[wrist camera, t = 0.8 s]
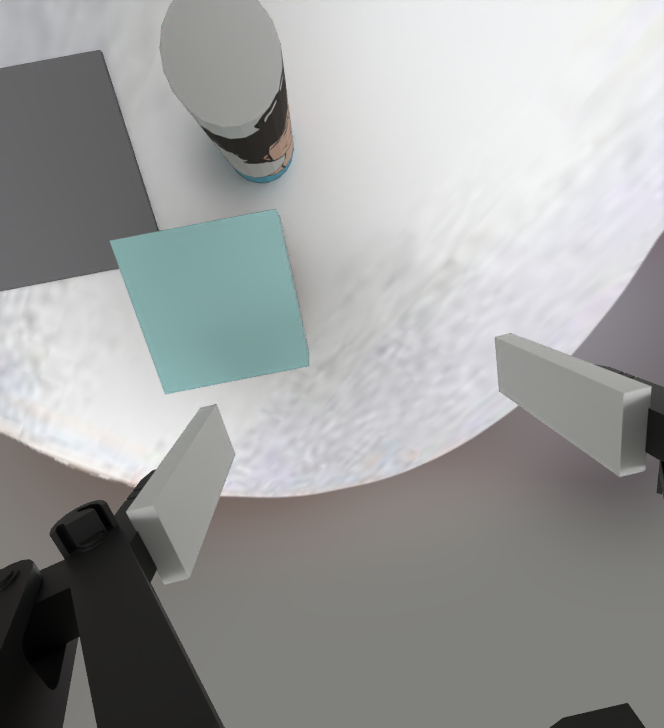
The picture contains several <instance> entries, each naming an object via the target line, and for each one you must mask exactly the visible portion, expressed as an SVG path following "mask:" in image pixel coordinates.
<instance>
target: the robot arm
mask: <svg viewBox="0 0 664 728" xmlns="http://www.w3.org/2000/svg"><path fill="white" fill-rule="evenodd" d="M495 347H496V360H497V372H498V385H499V392H501V393H502V394H504V395H505V396H506V397H508V398H509V399H511V400H512V401H513V402H515V403H516V404H518V405H519V406H521V407H522V408H523V409H525V410H526V411H528V412H529V413H531V414H532V415H533V416H535V417H536V418H537V419H539V420H540V421H542V422H543V423H544V424H546V425H547V426H549V427H550V428H552V429H553V430H554V431H556V432H557V433H559V434H560V435H561V436H563V437H565V438H566V439H567V440H568V441H570V442H571V443H573V444H574V445H576V446H577V447H578V448H580V449H581V450H583V451H584V452H585V453H587V454H588V455H590V456H591V457H592V458H594V459H595V460H597V461H598V462H599V463H601V464H602V465H604V466H605V467H607V468H608V469H609V470H611V471H612V472H614V473H615V474H616V475H618V476H619V477H621V476H625V475H630V474H634V473H637V472H642V471H645V465H646V452H647V453H649V454H650V455H652V456H654V457H655V458H657V459H659V460H660V463H659V473H658V485H657V493H659V494H662V493H663V497H664V387H662V386H659V385H656V384H654V383H651V382H649V381H646V380H643V379H640V378H638V377H637V378H635V376H632V375H629V374H627V373H625V374H624V373H623V372H621V371H619V370H616V369H613V368H610V367H606V366H600V365H595V364H591V363H588V362H586V361H583V360H581V359H578V358H575V357H573V356H570V355H567V354H565V353H562V352H559V351H557V350H554V349H552V348H549V347H546V346H544V345H541V344H538V343H536V342H533V341H531V340H528V339H525V338H523V337H520V336H517V335H515V334H512V333H509V334H505V335H501V336H497V337H495ZM234 457H235V452H234V449H233V447H232V444H231V441H230V439H229V436H228V433H227V431H226V428H225V425H224V423H223V420H222V417H221V415H220V412H219V409H218V407H217V404H215V405H211V406H206V407H202V408H200V409H199V411H198V412H197V413H196V415H195V416H194V418H193V419H192V420H191V422H190V423H189V425H188V426H187V427H186V429H185V430H184V432H183V433H182V434H181V436H180V437H179V439H178V440H177V441H176V443H175V444H174V445H173V447H172V448H171V450H170V451H169V452H168V454H167V455H166V457H165V458H164V459H163V461H162V462H161V464H160V465H159V466H158V468H157V469H156V470H152V471H151V472H150V473H149V474H148V475H146V476H145V477H144V478H143V479H142V480H141V481H140V482H139V483H138V485H137V486H136V487H135V489H134V490H133V492H132V493H131V494H130V495H129V497H128V498H127V501H125V502H124V503H123V505H122V506H121V507H120V509H119V510H118V511H117V513H116V514H115V515H113V513H112V512H111V510H110V508H109V506H108V504H107V503H106V502H105V501H103V500H98V501H93V502H89V503H87V504H84V505H82V506H80V507H78V508H76V509H74V510H73V511H71V512H69V513H68V514H66V515H65V516H64V517H63V518H61V519H60V520H59V521H58V522H57V523H56V524H55V525H54V526H53V528H52V529H51V531H50V537H51V538H52V540H53V541H54V543H55V544H56V546H57V547H58V549H59V551H60V552H61V554H62V555H63V557H64V559H65V560H63V561H60V562H58V563H56V564H54V565H51V566H49V567H47V568H45V569H42V570H41V571H39V569H38V568H37V566H36V565H35V563H34V562H33V561H31V560H21V561H19V562H16V563H13V564H11V565H9V566H7V567H5V568H4V569H1V570H0V728H63V722H64V716H65V711H66V705H67V700H68V694H69V688H70V682H71V677H72V671H73V665H74V659H75V654H76V648H77V642H78V637H80V640H81V646H82V651H83V656H84V661H85V666H86V672H87V676H88V682H89V687H90V692H91V697H92V703H93V707H94V713H95V718H96V723H97V728H225V727H224V726H223V723H222V722H221V719H220V718H219V716H218V714H217V712H216V710H215V708H214V706H213V704H212V702H211V700H210V698H209V696H208V694H207V692H206V690H205V688H204V686H203V684H202V683H201V680H200V678H199V677H198V675H197V673H196V671H195V669H194V667H193V665H192V663H191V661H190V659H189V657H188V655H187V653H186V651H185V649H184V647H183V645H182V643H181V641H180V640H179V637H178V635H177V633H176V631H175V630H174V628H173V626H172V624H171V622H170V620H169V618H168V616H167V614H166V612H165V610H164V608H163V606H162V604H161V602H160V600H159V598H158V596H157V594H156V592H155V591H154V589H153V587H152V585H151V583H150V582H151V580H152V578H153V576H154V574H155V572H156V570H157V572H158V574H159V575H160V577H161V579H162V581H163V583H164V584H169V583H173V582H177V581H181V580H185V579H189V578H190V575H191V572H192V570H193V567H194V564H195V561H196V559H197V556H198V553H199V551H200V548H201V545H202V543H203V540H204V537H205V535H206V532H207V529H208V527H209V524H210V521H211V518H212V516H213V513H214V510H215V508H216V505H217V502H218V500H219V497H220V494H221V492H222V489H223V486H224V483H225V481H226V478H227V475H228V473H229V470H230V467H231V465H232V462H233V459H234ZM550 728H645V727H644V725H643V724H642V722H641V721H640V720H639V718H638V717H637V715H636V714H635V713H634V711H633V710H632V708H631V707H630V706H629V704H628V703H625V704H621V705H617V706H612V707H608V708H603V709H599V710H595V711H591V712H586V713H582V714H577V715H574V716H569V717H565V718H562V719H561V720H560V721H558V722H557V723H556V724H554V725H553V726H551V727H550Z"/></svg>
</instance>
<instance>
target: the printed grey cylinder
mask: <svg viewBox="0 0 664 728" xmlns="http://www.w3.org/2000/svg"><path fill="white" fill-rule="evenodd" d="M160 53H161V59H162V65H163V71H164V73H165V75H166V77H167V80H168V82H169V84H170V86H171V89H172V91H173V92H174V94H175V95H176V96H177V97H178V99H179V100H180V101H181V102H182V104H183V105H184V106H185V107H186V109H187V110H188V111H189V112H190V114H191V115H192V116H193V117H194V119H195V120H196V121H197V122H198V124H199V125H200V126H201V127H202V129H203V130H204V131H205V132H206V134H207V135H208V136H209V137H210V139H211V140H212V141H213V142H214V144H215V145H216V146H217V147H218V149H219V150H220V151H221V152H222V154H223V155H224V156H225V157H226V159H227V160H228V161H229V162H230V164H231V165H232V166H233V167H234V169H235V170H236V171H237V172H238V173H239V174H240V175H242V176H243V177H244V178H246V179H247V180H250V181H254V182H257V183H265V182H270V181H273V180H275V179H278V178H279V177H280V176H281V175H282V174H283V173H284V172H285V171H286V170H287V168H288V166H289V164H290V163H291V160H292V155H293V150H294V148H293V136H292V129H291V121H290V113H289V105H288V98H287V90H286V82H285V75H284V67H283V59H282V51H281V44H280V41H279V38H278V35H277V32H276V29H275V27H274V24H273V21H272V20H271V18H270V17H269V15H268V14H267V12H266V11H265V9H264V8H263V7H262V5H261V4H260V2H259V1H257V0H174V1H173V2H172V3H171V4H170V6H169V9H168V11H167V13H166V16H165V18H164V21H163V23H162V28H161V38H160Z"/></svg>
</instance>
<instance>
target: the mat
mask: <svg viewBox="0 0 664 728" xmlns="http://www.w3.org/2000/svg"><path fill="white" fill-rule="evenodd" d="M158 231H159V230H158V227H157V224H156V221H155V217H154V214H153V211H152V208H151V205H150V202H149V199H148V195H147V192H146V189H145V186H144V183H143V180H142V177H141V173H140V170H139V167H138V164H137V161H136V158H135V155H134V151H133V148H132V145H131V142H130V139H129V136H128V133H127V129H126V126H125V123H124V120H123V117H122V114H121V111H120V107H119V104H118V101H117V98H116V95H115V92H114V88H113V85H112V82H111V79H110V76H109V73H108V70H107V66H106V63H105V60H104V57H103V54H102V52H101V51H100V50H96V51H91V52H86V53H80V54H75V55H70V56H64V57H59V58H54V59H48V60H43V61H37V62H32V63H27V64H21V65H16V66H11V67H5V68H0V291H3V290H8V289H14V288H19V287H24V286H29V285H34V284H40V283H45V282H50V281H55V280H60V279H66V278H71V277H76V276H81V275H86V274H92V273H97V272H102V271H107V270H112V269H117V268H119V266H118V263H117V260H116V257H115V255H114V252H113V249H112V246H111V243H110V241H111V240H116V239H121V238H127V237H132V236H137V235H142V234H147V233H153V232H158Z"/></svg>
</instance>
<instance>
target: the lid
mask: <svg viewBox="0 0 664 728" xmlns="http://www.w3.org/2000/svg"><path fill="white" fill-rule="evenodd" d="M110 243H111V246H112V249H113V252H114V255H115V257H116V260H117V263H118V266H119V268H120V271H121V274H122V277H123V279H124V282H125V285H126V288H127V290H128V293H129V296H130V299H131V301H132V304H133V307H134V310H135V312H136V315H137V318H138V321H139V323H140V326H141V329H142V332H143V334H144V337H145V340H146V343H147V345H148V348H149V351H150V354H151V357H152V359H153V362H154V365H155V368H156V370H157V373H158V376H159V379H160V381H161V384H162V387H163V390H164V392H165V394H169V393H174V392H179V391H184V390H190V389H195V388H200V387H205V386H210V385H215V384H220V383H225V382H230V381H235V380H240V379H246V378H251V377H256V376H261V375H266V374H271V373H276V372H281V371H286V370H291V369H296V368H302V367H307V366H309V350H308V345H307V341H306V336H305V331H304V327H303V322H302V317H301V313H300V308H299V303H298V299H297V294H296V289H295V284H294V280H293V275H292V270H291V266H290V261H289V256H288V252H287V247H286V242H285V237H284V233H283V228H282V223H281V219H280V215H279V214H278V212H277V211H276V209H272V210H267V211H262V212H257V213H252V214H246V215H241V216H236V217H231V218H226V219H220V220H215V221H210V222H205V223H200V224H194V225H189V226H184V227H179V228H173V229H168V230H163V231H158V232H153V233H147V234H142V235H137V236H132V237H127V238H121V239H116V240H111V241H110Z"/></svg>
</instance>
